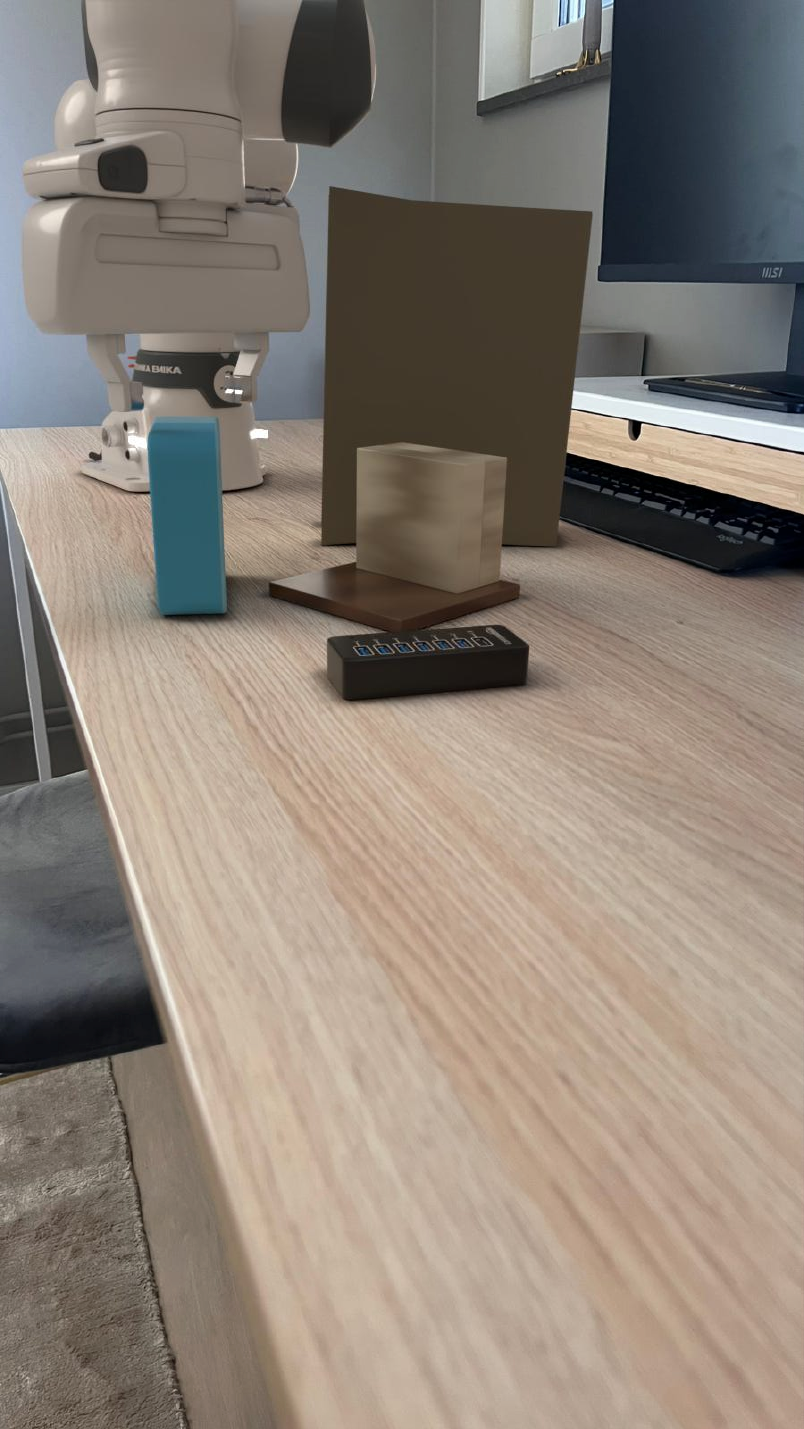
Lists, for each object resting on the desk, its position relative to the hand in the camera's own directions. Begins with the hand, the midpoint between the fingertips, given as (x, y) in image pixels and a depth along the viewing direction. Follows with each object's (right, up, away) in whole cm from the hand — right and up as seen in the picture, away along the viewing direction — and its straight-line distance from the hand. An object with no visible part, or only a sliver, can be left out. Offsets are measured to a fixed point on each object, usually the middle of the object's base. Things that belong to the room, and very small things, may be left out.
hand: (187, 406), depth 69 cm
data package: (-1, -12, +5) cm, 13 cm away
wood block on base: (+14, -12, +6) cm, 19 cm away
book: (+18, -4, +26) cm, 32 cm away
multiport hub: (+16, -19, -10) cm, 26 cm away
